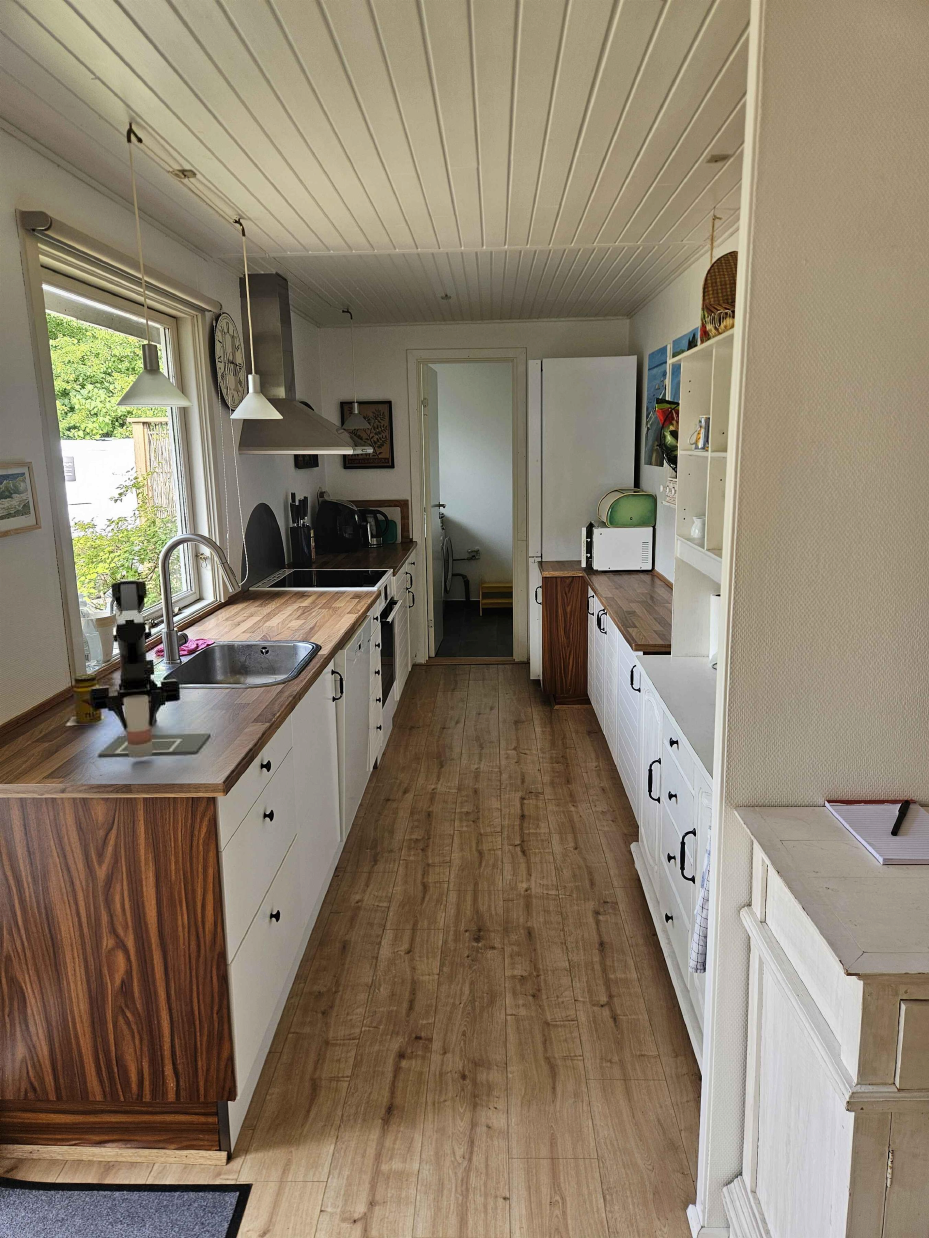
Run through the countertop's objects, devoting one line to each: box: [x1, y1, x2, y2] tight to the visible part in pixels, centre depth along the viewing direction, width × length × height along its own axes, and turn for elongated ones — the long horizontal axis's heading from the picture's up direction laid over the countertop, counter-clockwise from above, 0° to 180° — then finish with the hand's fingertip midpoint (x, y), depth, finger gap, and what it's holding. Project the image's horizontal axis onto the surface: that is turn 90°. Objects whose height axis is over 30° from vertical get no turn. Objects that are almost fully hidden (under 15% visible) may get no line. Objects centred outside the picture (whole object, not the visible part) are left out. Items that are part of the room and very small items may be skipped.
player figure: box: [123, 695, 153, 759], centre depth 185 cm, size 5×5×13 cm
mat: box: [97, 733, 211, 758], centre depth 197 cm, size 22×13×1 cm, turn 93°
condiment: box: [65, 673, 106, 727], centre depth 217 cm, size 7×8×12 cm
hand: (138, 727), depth 184 cm, fingers closed on player figure, 5 cm apart
